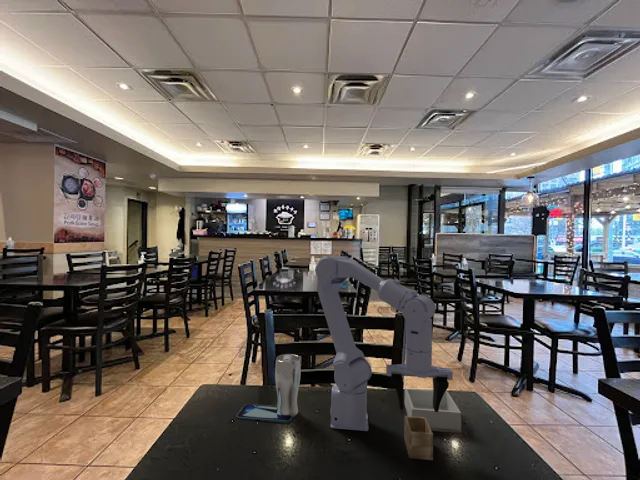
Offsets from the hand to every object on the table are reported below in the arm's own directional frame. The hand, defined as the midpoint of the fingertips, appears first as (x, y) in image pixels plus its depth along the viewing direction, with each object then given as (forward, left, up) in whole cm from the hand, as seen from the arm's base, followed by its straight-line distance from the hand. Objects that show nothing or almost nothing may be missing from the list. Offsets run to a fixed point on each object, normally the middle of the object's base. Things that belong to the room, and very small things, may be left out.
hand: (418, 408), depth 72 cm
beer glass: (-33, +11, -9) cm, 36 cm away
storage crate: (+6, +14, -9) cm, 18 cm away
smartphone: (-39, +10, -10) cm, 41 cm away
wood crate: (0, 0, -9) cm, 9 cm away
